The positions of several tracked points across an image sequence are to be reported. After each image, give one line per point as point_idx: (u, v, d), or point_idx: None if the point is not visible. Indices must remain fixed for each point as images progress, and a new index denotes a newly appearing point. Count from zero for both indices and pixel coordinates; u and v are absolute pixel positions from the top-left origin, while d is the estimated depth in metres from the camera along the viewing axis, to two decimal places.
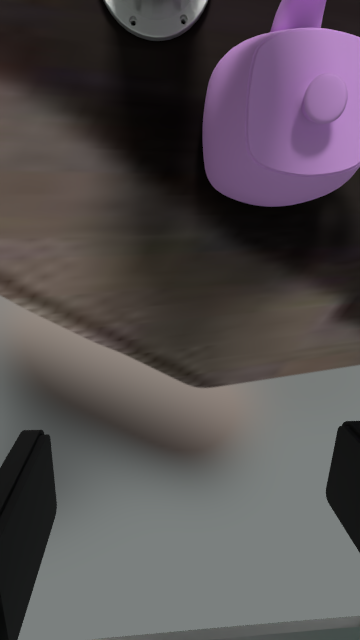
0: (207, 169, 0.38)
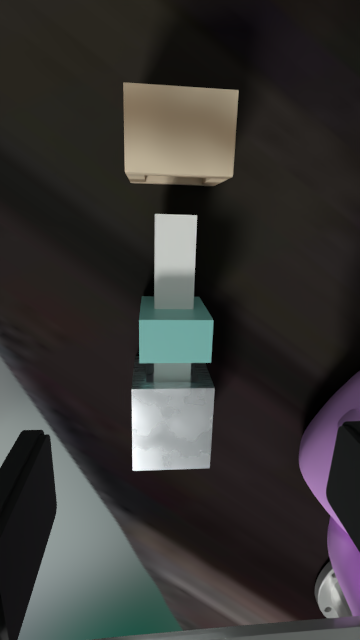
0: None
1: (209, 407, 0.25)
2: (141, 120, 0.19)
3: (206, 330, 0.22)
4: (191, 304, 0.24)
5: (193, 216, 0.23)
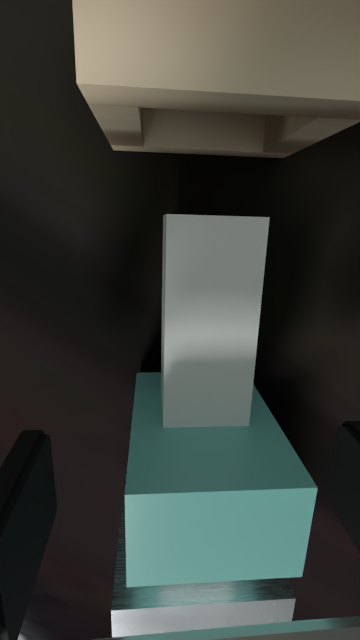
0: None
1: None
2: None
3: (297, 509, 0.09)
4: (245, 416, 0.11)
5: (260, 220, 0.09)
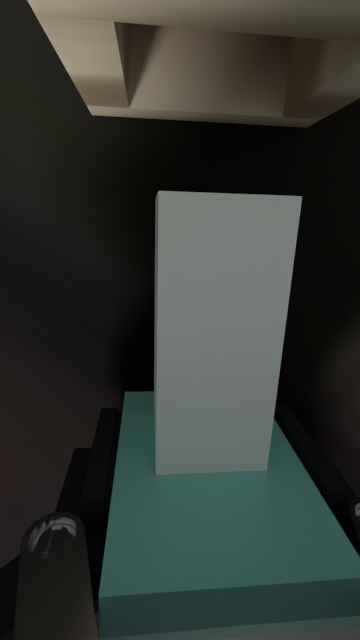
0: None
1: None
2: None
3: (341, 605, 0.06)
4: (262, 458, 0.08)
5: (289, 200, 0.07)
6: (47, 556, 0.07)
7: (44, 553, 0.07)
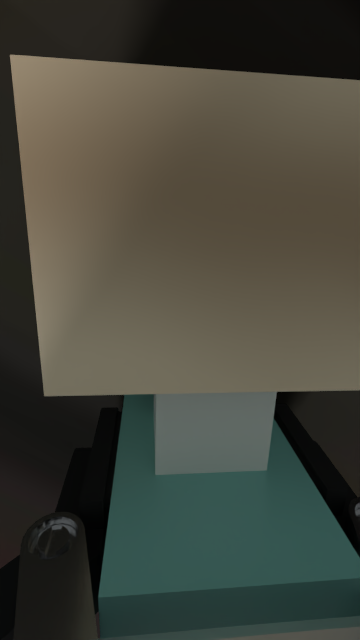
0: None
1: None
2: (99, 215, 0.05)
3: (341, 606, 0.06)
4: (262, 458, 0.08)
5: None
6: (47, 556, 0.07)
7: (44, 553, 0.07)
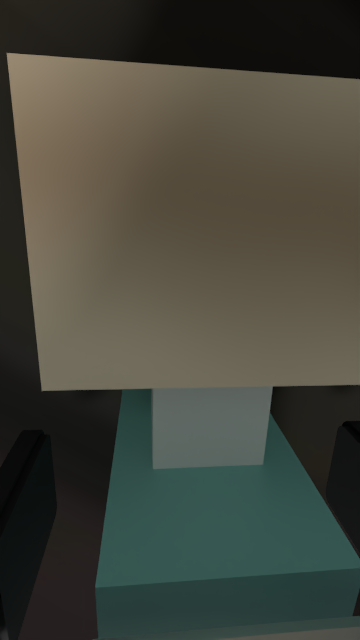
0: None
1: None
2: (95, 212, 0.05)
3: (335, 595, 0.06)
4: (258, 452, 0.08)
5: None
6: None
7: None
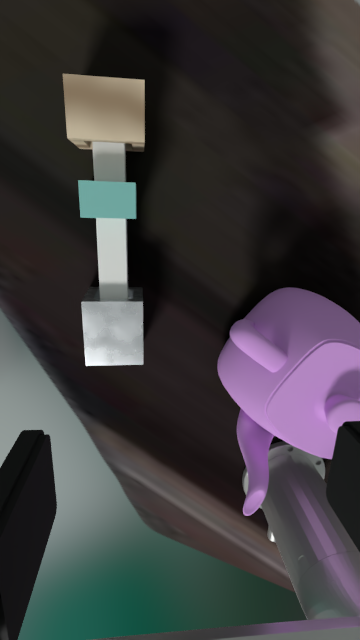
0: None
1: (140, 316, 0.34)
2: (76, 100, 0.27)
3: (130, 190, 0.29)
4: (123, 179, 0.31)
5: None
6: None
7: None
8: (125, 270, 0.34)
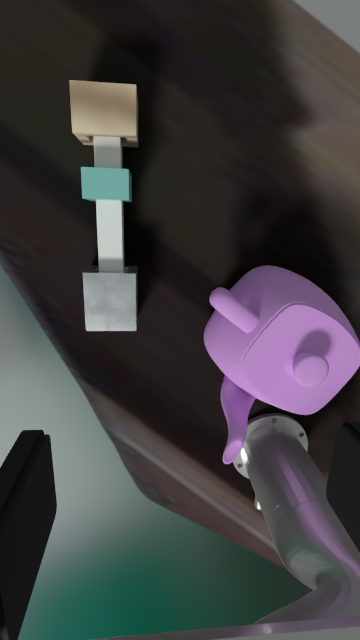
0: None
1: (133, 287, 0.39)
2: (80, 101, 0.33)
3: (124, 175, 0.35)
4: (119, 168, 0.37)
5: None
6: None
7: None
8: (121, 247, 0.40)
